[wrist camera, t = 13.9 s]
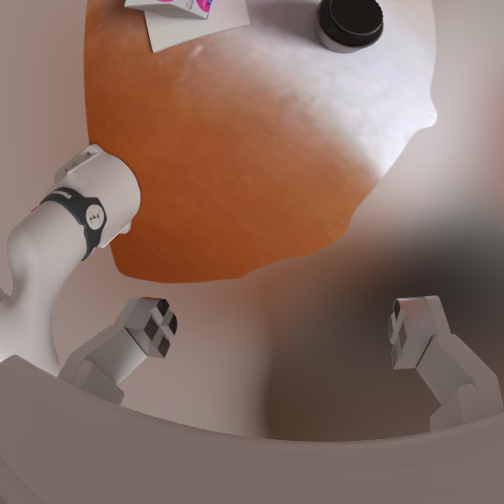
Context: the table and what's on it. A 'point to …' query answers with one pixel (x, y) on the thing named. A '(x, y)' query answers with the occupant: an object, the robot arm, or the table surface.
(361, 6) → the supplement bottle
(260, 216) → the table surface
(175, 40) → the white rectangular plate
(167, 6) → the supplement box
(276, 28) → the table surface
